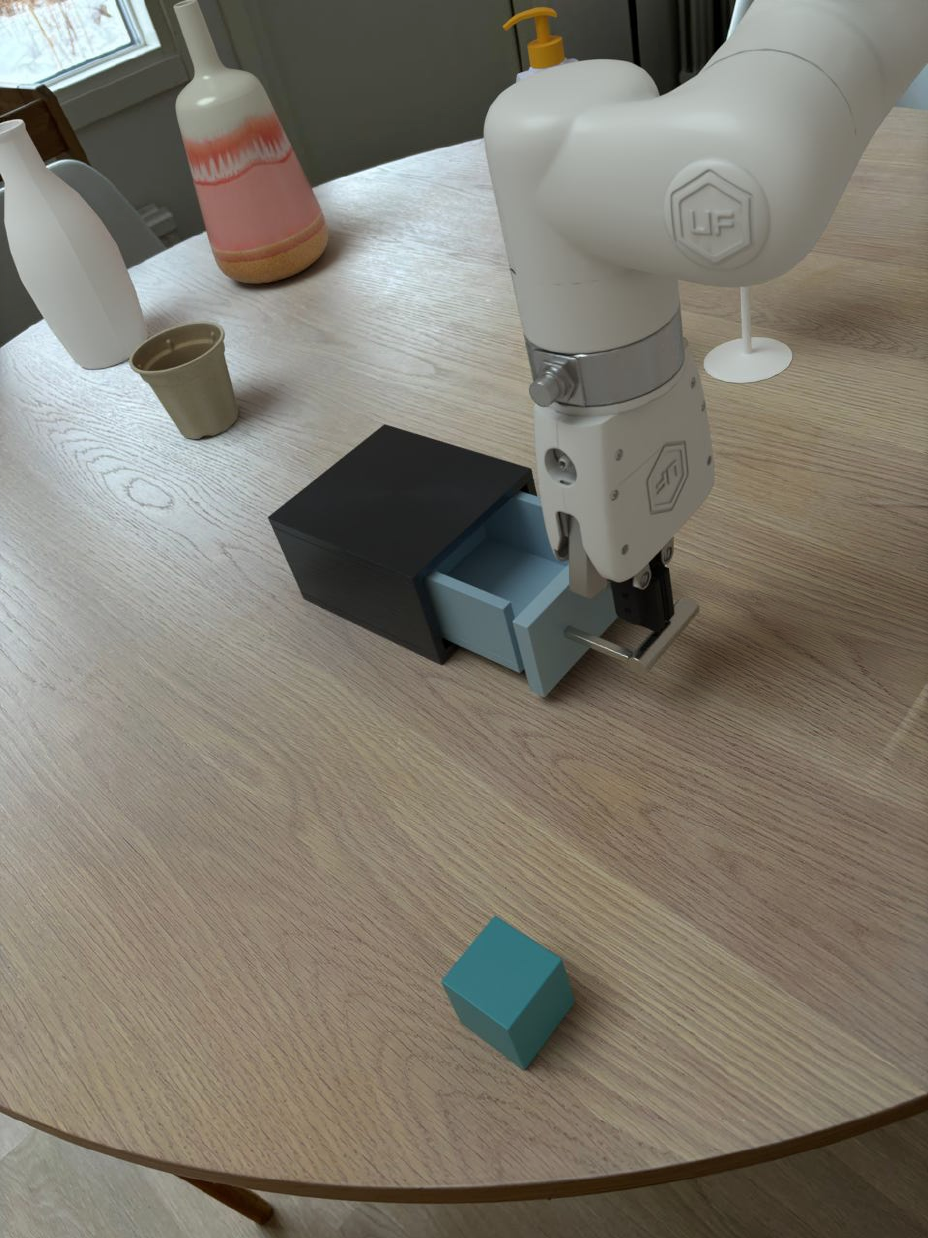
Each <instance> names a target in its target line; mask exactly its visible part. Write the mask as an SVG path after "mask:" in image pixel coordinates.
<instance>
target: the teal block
mask: <svg viewBox="0 0 928 1238" xmlns="http://www.w3.org/2000/svg"><path fill="white" fill-rule="evenodd" d="M440 984H441V986H442V987H443V989H444V991H445V993H446V996H447V998H448V1000H449V1001H450V1003H451V1006H452V1008H453V1010H454V1011H455V1015H456V1016H457V1018H458V1020H459V1022H460V1024H461V1025H463V1026H464V1027H465V1028H467V1029H468V1030H470V1031H471V1032H472V1033H473V1034H475V1035H476V1036H478V1037H479V1038H480V1039H481V1040H483V1041H484V1042H486V1043H487V1044H488V1045H489V1046H491V1047H492V1048H494V1049H495V1050H496V1051H497V1052H498V1053H500V1054H502V1055H503V1056H504V1057H505V1058H507V1059H508V1060H509V1061H511V1062H512V1063H514V1064H515V1065H516V1066H518V1067H519V1068H520V1069H522V1070H523V1071H526V1070H527V1068H528V1067H529V1066H530V1064H531V1063H532V1062H533V1060H534V1059H535V1057H536V1056H537V1055H538V1053H539V1052H540V1051H541V1050H542V1048H543V1047H544V1045H545V1044H546V1042H547V1041H548V1040H549V1039H550V1037H551V1036H552V1034H553V1033H554V1032H555V1031H556V1029H557V1028H558V1027H559V1025H560V1023H562V1021H563V1020H564V1018H565V1017H566V1015H567V1014H568V1012H569V1011H570V1010H571V1009H572V1007H573V1006H574V1004H575V1002H576V999H575V997H574V993H573V989H572V985H571V983H570V980H569V976H568V973H567V970H566V967H565V964H564V961H563V958H562V957H560V956H559V955H557V954H555V953H554V952H553V951H551V950H549V949H548V948H546V947H545V946H543V945H541V944H540V943H539V942H537V941H536V940H534V939H532V938H531V937H530V936H528V935H526V934H525V933H524V932H522V931H520V930H519V929H517V928H516V927H514V926H512V925H511V924H509V923H507V922H506V921H505V920H503V919H502V918H501V917H499V916H497V915H493V917H492V918H491V919H490V920H489V922H488V923H487V924H486V925H485V927H484V928H483V929H482V930H481V931H480V933H479V934H478V935H477V936H476V938H475V939H473V941H472V942H471V944H470V945H469V946H468V947H467V948H466V950H465V951H464V952H463V953H462V955H461V956H460V957H459V959H457V961H456V962H455V963H454V964H453V965H452V967H451V968H450V969H449V971H448V972H447V973H446V974H445V975H444V976H443V978H442V979H441V981H440Z"/></svg>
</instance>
